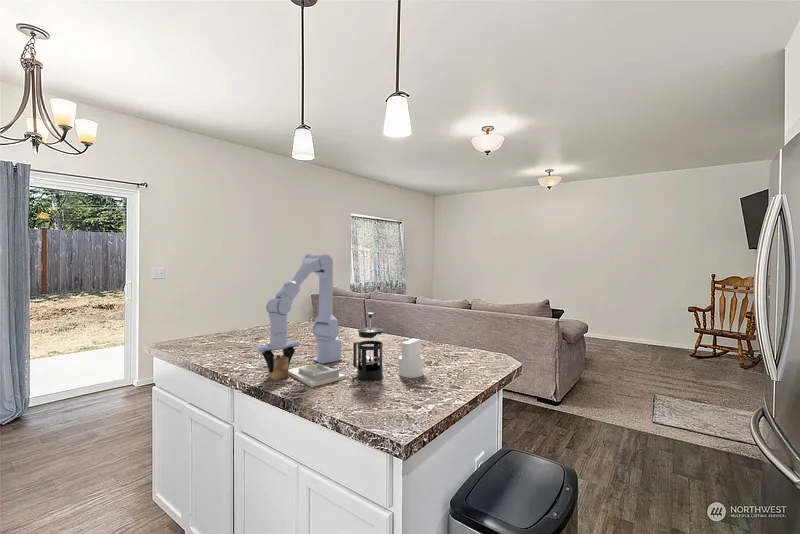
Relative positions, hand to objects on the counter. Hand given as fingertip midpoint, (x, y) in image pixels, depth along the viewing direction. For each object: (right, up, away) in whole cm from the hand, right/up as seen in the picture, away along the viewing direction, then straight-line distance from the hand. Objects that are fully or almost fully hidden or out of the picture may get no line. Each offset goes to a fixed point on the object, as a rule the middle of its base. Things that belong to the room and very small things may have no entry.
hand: (278, 370), depth 130 cm
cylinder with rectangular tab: (+47, -3, +5) cm, 47 cm away
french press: (+32, -3, +1) cm, 32 cm away
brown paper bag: (0, -2, 0) cm, 2 cm away
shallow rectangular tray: (+13, -3, +2) cm, 13 cm away
